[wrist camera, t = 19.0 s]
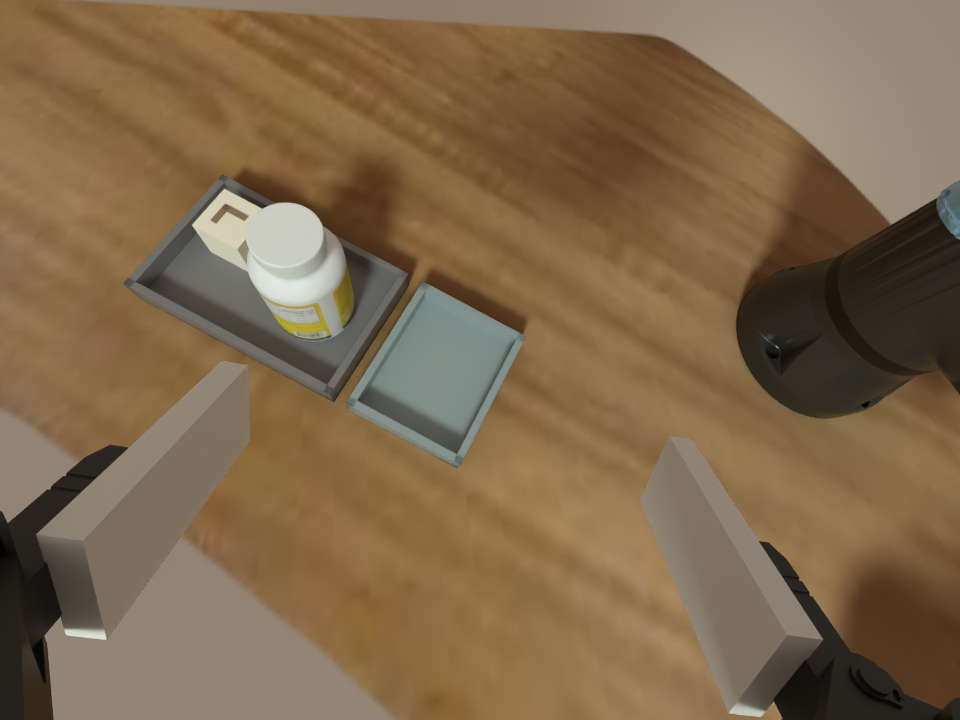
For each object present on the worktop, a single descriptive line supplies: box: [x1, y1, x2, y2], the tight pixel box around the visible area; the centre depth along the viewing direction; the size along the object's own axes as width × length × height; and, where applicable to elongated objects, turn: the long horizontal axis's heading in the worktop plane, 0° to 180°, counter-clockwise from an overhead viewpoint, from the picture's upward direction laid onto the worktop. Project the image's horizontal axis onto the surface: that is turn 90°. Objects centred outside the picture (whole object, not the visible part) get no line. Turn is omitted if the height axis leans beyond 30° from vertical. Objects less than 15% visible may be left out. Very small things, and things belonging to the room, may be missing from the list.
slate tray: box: [346, 282, 526, 468], centre depth 40 cm, size 12×10×2 cm
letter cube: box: [192, 189, 262, 272], centre depth 40 cm, size 4×4×4 cm
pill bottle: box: [246, 202, 355, 342], centre depth 35 cm, size 6×6×12 cm
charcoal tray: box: [124, 175, 408, 402], centre depth 41 cm, size 12×18×2 cm
